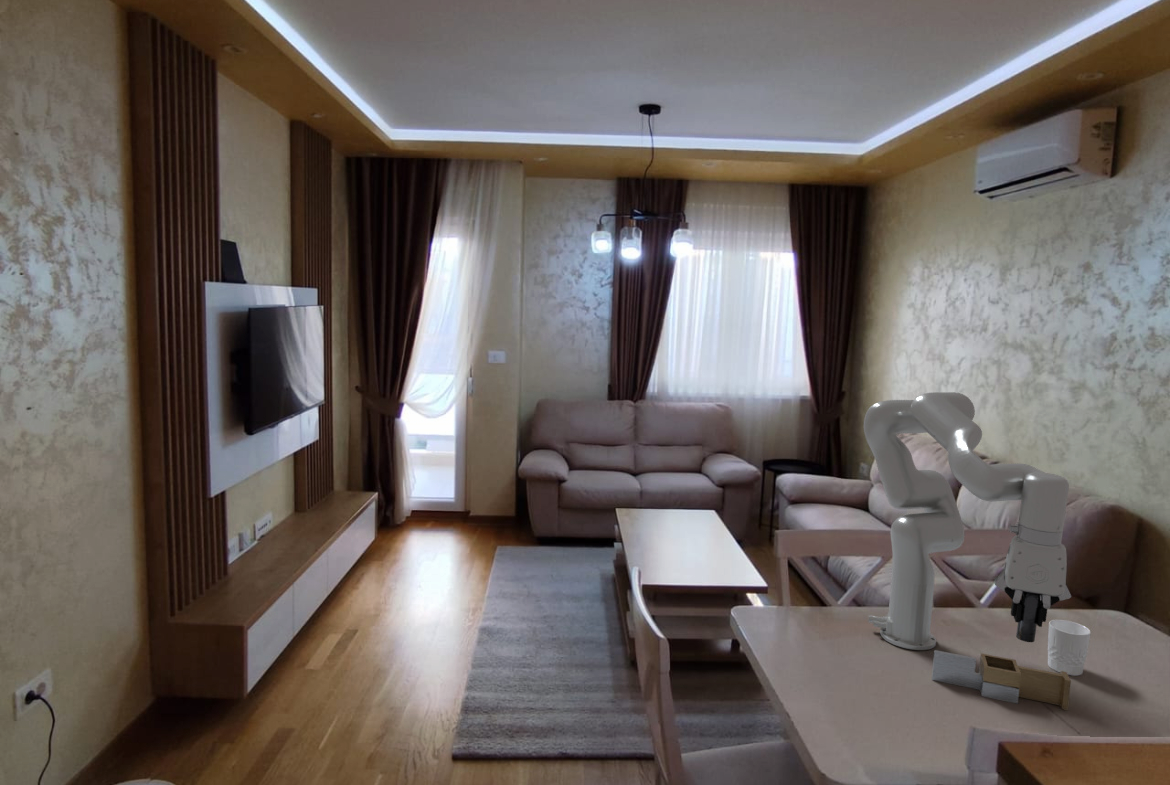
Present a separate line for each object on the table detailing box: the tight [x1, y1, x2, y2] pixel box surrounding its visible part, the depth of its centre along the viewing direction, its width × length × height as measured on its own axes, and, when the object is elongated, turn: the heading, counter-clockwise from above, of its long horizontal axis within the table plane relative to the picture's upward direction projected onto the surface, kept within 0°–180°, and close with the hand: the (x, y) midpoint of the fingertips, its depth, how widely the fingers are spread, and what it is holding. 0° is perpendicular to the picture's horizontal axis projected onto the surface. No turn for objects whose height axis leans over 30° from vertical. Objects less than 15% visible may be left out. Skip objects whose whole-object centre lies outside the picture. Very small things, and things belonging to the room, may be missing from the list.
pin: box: [1015, 591, 1041, 643], centre depth 143 cm, size 3×3×11 cm
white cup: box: [1047, 619, 1092, 676], centre depth 162 cm, size 8×8×10 cm
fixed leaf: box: [931, 649, 1020, 704], centre depth 152 cm, size 16×7×6 cm, turn 67°
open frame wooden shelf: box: [979, 653, 1072, 711], centre depth 149 cm, size 16×7×6 cm, turn 67°
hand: (1027, 621), depth 143 cm, fingers closed on pin, 3 cm apart
